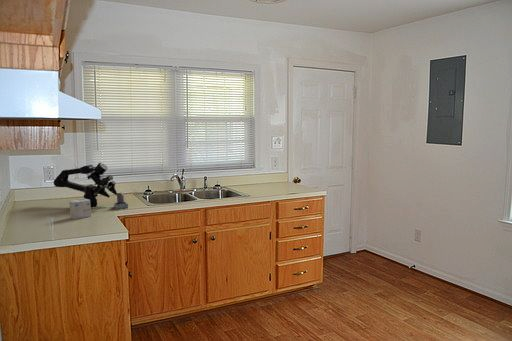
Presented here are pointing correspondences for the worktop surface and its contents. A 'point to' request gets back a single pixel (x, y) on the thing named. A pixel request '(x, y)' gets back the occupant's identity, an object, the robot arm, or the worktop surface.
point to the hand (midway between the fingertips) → (113, 195)
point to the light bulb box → (80, 208)
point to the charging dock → (120, 205)
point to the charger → (120, 198)
